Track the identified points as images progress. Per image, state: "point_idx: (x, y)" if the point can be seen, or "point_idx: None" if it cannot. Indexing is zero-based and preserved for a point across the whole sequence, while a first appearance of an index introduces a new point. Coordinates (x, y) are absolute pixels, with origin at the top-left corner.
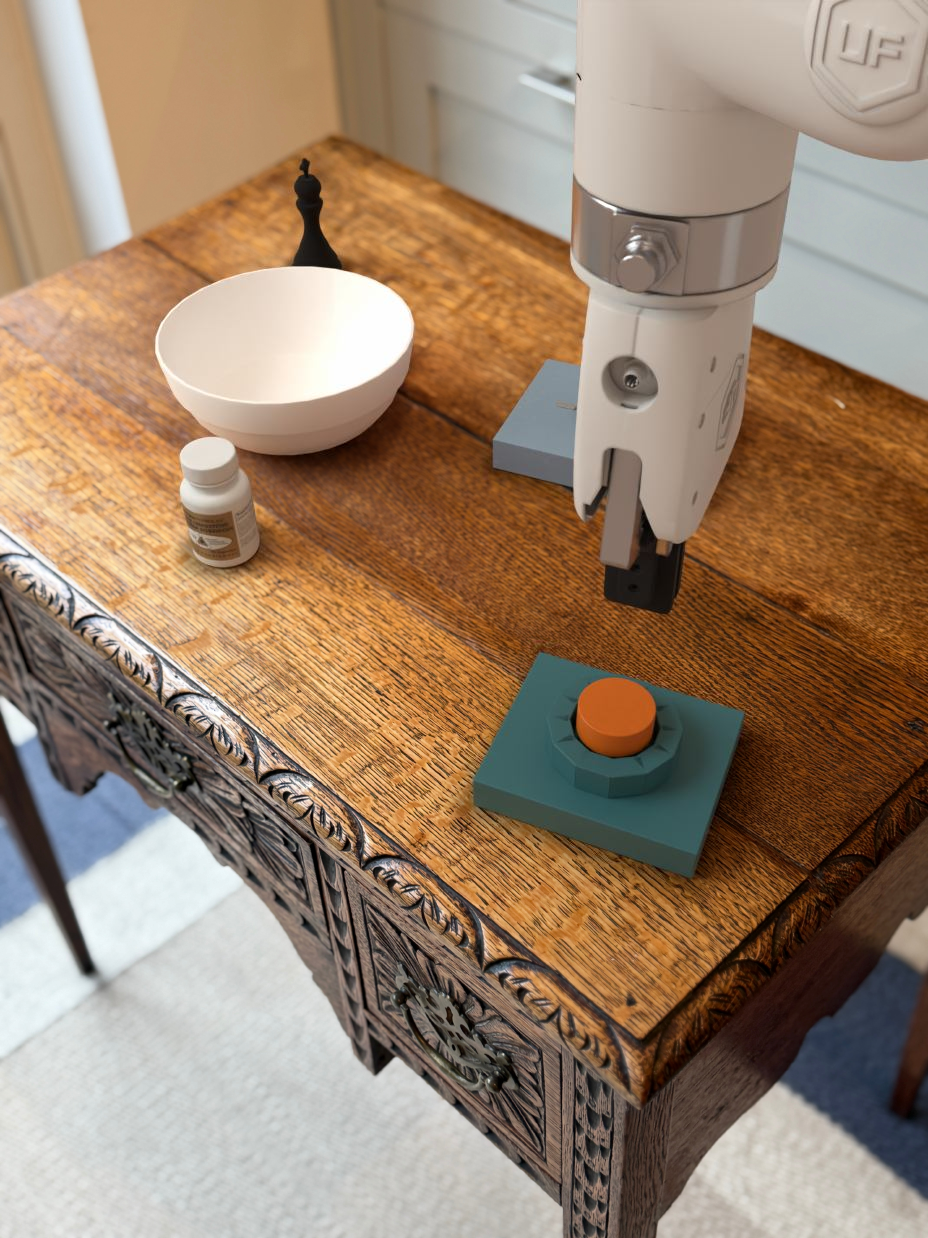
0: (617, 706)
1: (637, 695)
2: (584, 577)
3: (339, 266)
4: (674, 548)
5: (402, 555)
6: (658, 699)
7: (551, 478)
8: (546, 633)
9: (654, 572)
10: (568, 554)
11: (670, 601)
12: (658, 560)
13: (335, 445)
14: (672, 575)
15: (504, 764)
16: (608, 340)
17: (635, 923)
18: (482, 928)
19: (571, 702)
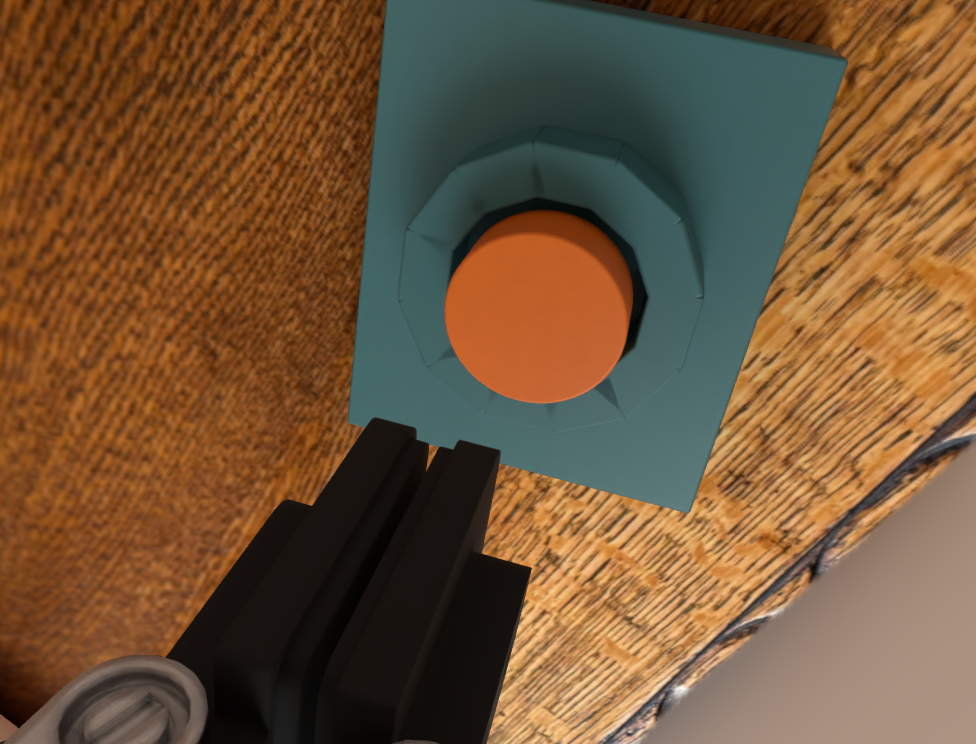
0: (535, 321)
1: (490, 278)
2: (105, 326)
3: None
4: (388, 717)
5: (181, 607)
6: (451, 207)
7: None
8: (265, 381)
9: (478, 681)
10: (63, 358)
11: (484, 483)
12: (420, 691)
13: (13, 727)
14: (446, 584)
15: (643, 466)
16: None
17: (953, 161)
18: (965, 434)
19: None
